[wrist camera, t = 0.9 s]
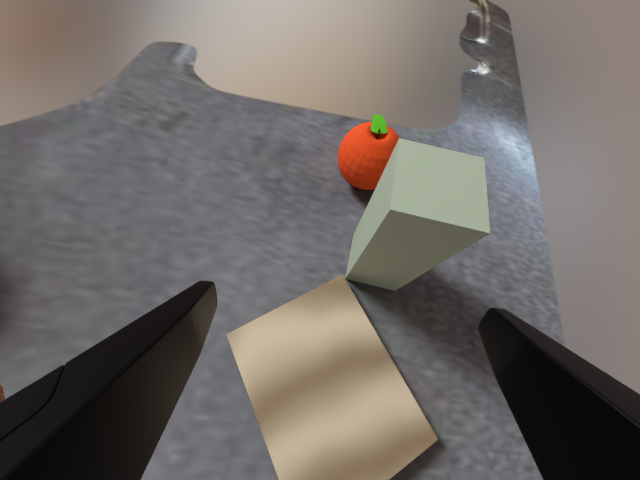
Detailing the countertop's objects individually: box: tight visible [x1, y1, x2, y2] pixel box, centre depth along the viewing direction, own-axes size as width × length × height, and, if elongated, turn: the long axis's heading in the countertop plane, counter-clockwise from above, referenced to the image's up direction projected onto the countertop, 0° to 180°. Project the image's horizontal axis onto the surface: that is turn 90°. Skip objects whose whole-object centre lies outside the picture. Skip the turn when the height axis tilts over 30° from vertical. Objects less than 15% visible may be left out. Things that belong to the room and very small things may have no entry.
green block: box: [345, 138, 490, 291], centre depth 19 cm, size 5×5×13 cm
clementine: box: [338, 114, 399, 190], centre depth 26 cm, size 8×7×7 cm
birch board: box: [227, 275, 438, 480], centre depth 19 cm, size 14×11×2 cm
